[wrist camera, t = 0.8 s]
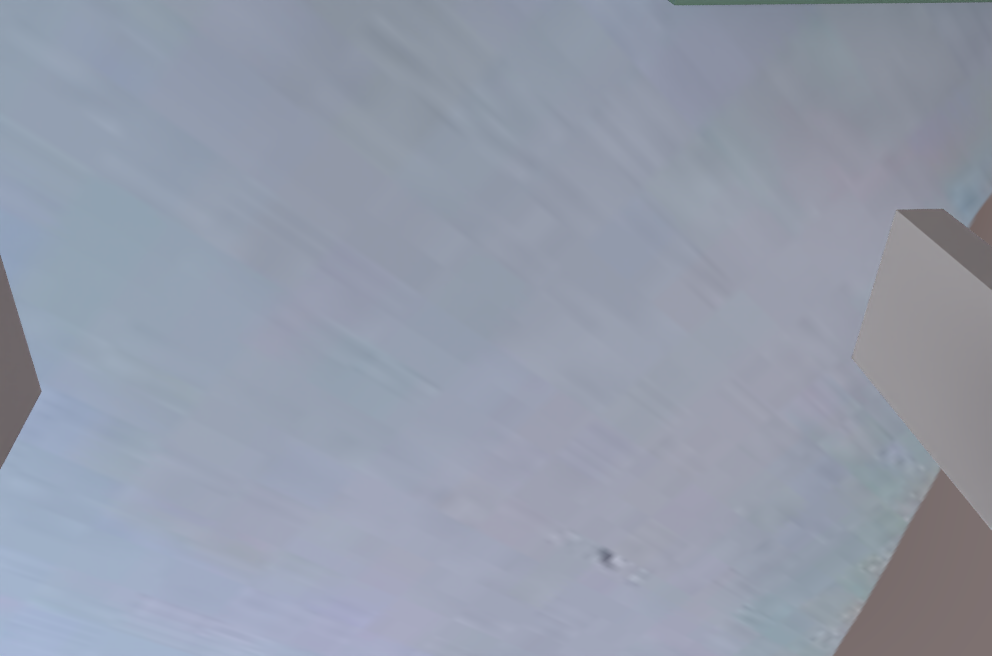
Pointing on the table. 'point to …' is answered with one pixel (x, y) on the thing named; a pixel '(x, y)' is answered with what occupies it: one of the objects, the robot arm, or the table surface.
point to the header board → (807, 1)
